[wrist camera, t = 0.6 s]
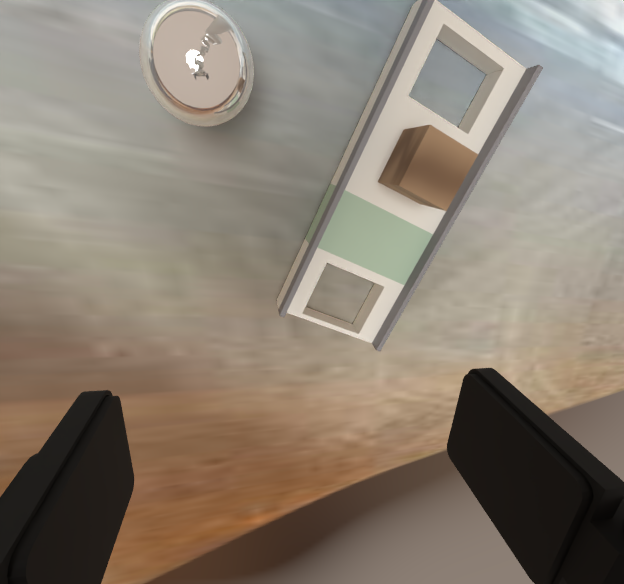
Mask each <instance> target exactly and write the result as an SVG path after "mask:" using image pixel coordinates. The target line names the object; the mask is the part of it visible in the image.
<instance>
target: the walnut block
mask: <svg viewBox="0 0 624 584" xmlns="http://www.w3.org/2000/svg"><path fill="white" fill-rule="evenodd" d="M477 156H478V154H477V153H475V152H474V151H472V150H470V149H469V148H467V147H465V146H464V145H462V144H461V143H459V142H457V141H456V140H454V139H453V138H451V137H449V136H448V135H446V134H445V133H443V132H441V131H440V130H438V129H437V128H435V127H433V126H432V125H425V126H420V127H414V128H409V129H404V130H403V132H402V134H401V136H400V138H399V140H398V142H397V144H396V146H395V148H394V150H393V152H392V154H391V156H390V158H389V160H388V162H387V164H386V166H385V168H384V170H383V172H382V174H381V176H380V178H379V180H378V182H379V183H381V184H383V185H385V186H387V187H388V188H390V189H392V190H394V191H396V192H398V193H400V194H402V195H404V196H405V197H407V198H409V199H411V200H413V201H415V202H417V203H419V204H421V205H425V206H429V207H433V208H437V209H440V210H444V211H447V209H448V207H449V206H450V204H451V202H452V200H453V198H454V197H455V195H456V193H457V191H458V190H459V188H460V186H461V184H462V182H463V181H464V179H465V177H466V175H467V174H468V172H469V170H470V168H471V166H472V165H473V163H474V161H475V159H476V158H477Z"/></svg>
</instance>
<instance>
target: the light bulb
mask: <svg viewBox="0 0 624 584" xmlns="http://www.w3.org/2000/svg"><path fill="white" fill-rule="evenodd" d="M139 57H140V66H141V69H142V73H143V76H144V79H145V81H146V83H147V85H148V87H149V89H150V91H151V92H152V94H153V95H154V97H155V98H156V100H157V101H158V102H159V103H160V104H161V105H162V106H163V107H164V108H165V109H166V110H167V111H168V112H169V113H170V114H172V115H173V116H174V117H176V118H177V119H180V120H182V121H184V122H186V123H188V124H192V125H196V126H205V127H209V126H216V125H220V124H223V123H225V122H228V121H229V120H231V119H232V118H234V117H235V116H236V115H237V114H238V113H239V112H240V111H241V110H242V109H243V107H244V106H245V104H246V103H247V101H248V99H249V96H250V94H251V91H252V86H253V81H254V65H253V59H252V54H251V51H250V48H249V45H248V42H247V39H246V38H245V36H244V34H243V32H242V30H241V28H240V27H239V26H238V24H237V23H236V22H235V21H234V19H233V18H232V17H231V16H230V15H229V14H228V13H226V12H225V11H224V10H223V9H222V8H220V7H219V6H217V5H215V4H214V3H212V2H210V1H207V0H166V1H164V2H163V3H161V4H160V5H158V6H157V7H156V8H155V9H154V10H153V11H152V12H151V14H150V15H149V16H148V18H147V20H146V22H145V24H144V26H143V29H142V33H141V36H140V45H139Z"/></svg>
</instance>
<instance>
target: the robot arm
mask: <svg viewBox="0 0 624 584" xmlns="http://www.w3.org/2000/svg"><path fill="white" fill-rule="evenodd" d="M447 451H448V455H449V457H450V459H451V461H452V462H453V463H454V465H455V467H456V468H457V470H458V471H459V473H460V474H461V476H462V477H463V479H464V480H465V482H466V483H467V485H468V486H469V488H470V489H471V491H472V492H473V494H474V495H475V497H476V498H477V500H478V501H479V503H480V504H481V506H482V507H483V509H484V510H485V512H486V513H487V515H488V516H489V518H490V519H491V521H492V522H493V523H494V525H495V527H496V528H497V530H498V531H499V533H500V534H501V536H502V537H503V539H504V540H505V542H506V543H507V545H508V546H509V548H510V549H511V551H512V552H513V554H514V555H515V557H516V558H517V559H518V561H519V563H520V564H521V566H522V567H523V569H524V570H525V572H526V573H527V575H528V576H529V578H530V579H531V580H532V581H533V582H534V583H535V584H624V482H623V481H622V480H621V479H620V478H619V477H617V476H616V475H615V474H614V473H613V472H612V471H611V470H609V469H608V468H607V467H606V466H605V465H604V464H603V463H601V462H600V461H599V460H598V459H597V458H596V457H594V456H593V455H592V454H591V453H590V452H589V451H588V450H586V449H585V448H584V447H583V446H582V445H581V444H580V443H578V442H577V441H576V440H575V439H574V438H573V437H572V436H570V435H569V434H568V433H567V432H566V431H564V430H563V429H562V428H561V427H560V426H559V425H558V424H556V423H555V422H554V421H553V420H552V419H551V418H550V417H549V416H547V415H546V414H545V413H544V412H543V411H542V410H541V409H539V408H538V407H537V406H536V405H535V404H534V403H532V402H531V401H530V400H529V399H528V398H527V397H526V396H524V395H523V394H522V393H521V392H520V391H519V390H518V389H516V388H515V387H514V386H513V385H512V384H511V383H510V382H508V381H507V380H506V379H505V378H504V377H503V376H501V375H500V374H499V373H498V372H497V371H496V370H494V369H493V368H481V369H472V370H470V371H469V373H468V374H467V375H465V376H464V379H463V383H462V387H461V391H460V395H459V399H458V403H457V407H456V411H455V415H454V419H453V423H452V427H451V431H450V435H449V439H448V443H447ZM133 487H134V473H133V468H132V462H131V457H130V451H129V446H128V440H127V435H126V429H125V424H124V418H123V412H122V407H121V401H120V398H119V396H112V393H111V392H110V391H109V390H105V391H88V392H82V393H81V394H80V395H79V396H78V398H77V399H76V400H75V402H74V403H73V405H72V406H71V407H70V409H69V410H68V412H67V413H66V415H65V416H64V417H63V419H62V420H61V422H60V423H59V424H58V426H57V427H56V429H55V430H54V432H53V433H52V434H51V436H50V437H49V439H48V440H47V442H46V443H45V444H44V446H43V447H42V449H41V450H40V451H39V453H37V454H35V455H33V456H31V457H30V458H29V459H28V461H27V462H26V463H25V464H24V465H23V467H22V468H21V470H20V471H19V472H18V474H17V475H16V476H15V478H14V479H13V481H12V482H11V483H10V485H9V486H8V487H7V489H6V490H5V492H4V493H3V494H2V496H1V497H0V584H101V582H102V579H103V576H104V573H105V570H106V567H107V564H108V561H109V559H110V556H111V553H112V550H113V547H114V544H115V541H116V538H117V535H118V532H119V530H120V527H121V524H122V521H123V518H124V515H125V512H126V509H127V506H128V503H129V501H130V498H131V495H132V491H133Z"/></svg>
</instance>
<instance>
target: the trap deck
mask: <svg viewBox="0 0 624 584" xmlns="http://www.w3.org/2000/svg"><path fill="white" fill-rule="evenodd" d="M436 38H437V39H438V40H439V41H441V42H442V43H443V44H445V45H446V46H448V47H449V48H450V49H452V50H453V51H455V52H456V53H457V54H459V55H460V56H461V57H463V58H464V59H466V60H467V61H468V62H470V63H471V64H473V65H474V66H475V67H477V68H478V69H479V70H481V71H482V72H484V73H485V74H486V76H485V78H484V80H483V82H482V84H481V86H480V88H479V90H478V91H477V93H476V95H475V97H474V99H473V101H472V103H471V104H470V106H469V108H468V110H467V112H466V114H465V116H464V117H463V119H462V121H461V123H460V125H459V127H456V126H455V125H453V124H451V123H450V122H448V121H447V120H445V119H444V118H442V117H440V116H439V115H437V114H436V113H434V112H433V111H431V110H429V109H428V108H426V107H425V106H423V105H422V104H420V103H419V102H417V101H415V100H414V99H412V98H411V97H409V94H410V91H411V89H412V87H413V85H414V83H415V81H416V79H417V77H418V75H419V73H420V71H421V69H422V67H423V65H424V63H425V61H426V59H427V57H428V55H429V53H430V51H431V48H432V46H433V44H434V42H435V40H436ZM542 69H543V67H541V66H540V65H537V66H534V67H531V68H527V69H526V68H525V67H523V66H522V65H521V64H519V63H518V62H517V61H515V60H514V59H513V58H512V57H510V56H509V55H508V54H506V53H505V52H504V51H502V50H501V49H500V48H498V47H497V46H496V45H495V44H493V43H492V42H491V41H489V40H488V39H487V38H485V37H484V36H483V35H481V34H480V33H479V32H478V31H476V30H475V29H474V28H472V27H471V26H470V25H468V24H467V23H466V22H464V21H463V20H462V19H461V18H459V17H458V16H457V15H455V14H454V13H453V12H451V11H450V10H449V9H447V8H446V7H445V6H444V5H442V4H441V3H440V2H438V1H437V0H417V1H416V2H415V3H414V4H413V5H412V7H411V10H410V12H409V14H408V16H407V18H406V20H405V23H404V25H403V27H402V29H401V31H400V34H399V36H398V38H397V40H396V42H395V44H394V47H393V49H392V51H391V53H390V55H389V57H388V60H387V62H386V64H385V66H384V68H383V70H382V73H381V75H380V77H379V79H378V81H377V83H376V86H375V88H374V90H373V92H372V94H371V96H370V99H369V101H368V103H367V105H366V107H365V109H364V112H363V114H362V116H361V118H360V120H359V122H358V125H357V127H356V129H355V131H354V133H353V136H352V138H351V140H350V142H349V144H348V146H347V149H346V151H345V153H344V155H343V157H342V159H341V162H340V164H339V166H338V168H337V170H336V172H335V175H334V177H333V179H332V181H331V183H330V185H329V188H328V190H327V192H326V194H325V196H324V198H323V201H322V203H321V205H320V207H319V209H318V211H317V214H316V216H315V218H314V220H313V222H312V224H311V227H310V229H309V231H308V233H307V235H306V238H305V240H304V242H303V244H302V246H301V248H300V251H299V253H298V255H297V257H296V259H295V261H294V264H293V266H292V268H291V270H290V272H289V274H288V277H287V279H286V281H285V283H284V285H283V287H282V290H281V292H280V294H279V296H278V298H277V300H276V301H277V306H278V310H279V315H280V316H282V317H285V315H286V313H289V314H292V315H295V316H297V317H300V318H303V319H306V320H308V321H311V322H314V323H317V324H320V325H322V326H325V327H328V328H331V329H333V330H336V331H339V332H342V333H345V334H347V335H350V336H353V337H356V338H359V339H361V340H364V341H367V342H370V343H372V344H373V346H374V347H375V349H376V350H378V351H381V349H382V347H383V345H384V344H385V342H386V340H387V339H388V337H389V335H390V333H391V332H392V330H393V328H394V326H395V325H396V323H397V321H398V319H399V318H400V316H401V314H402V312H403V311H404V309H405V307H406V305H407V304H408V302H409V300H410V299H411V297H412V295H413V293H414V292H415V290H416V288H417V286H418V285H419V283H420V281H421V279H422V278H423V276H424V274H425V272H426V271H427V269H428V267H429V265H430V264H431V262H432V260H433V259H434V257H435V255H436V253H437V252H438V250H439V248H440V246H441V245H442V243H443V241H444V239H445V238H446V236H447V234H448V232H449V231H450V229H451V227H452V225H453V224H454V222H455V220H456V219H457V217H458V215H459V213H460V212H461V210H462V208H463V206H464V205H465V203H466V201H467V199H468V198H469V196H470V194H471V192H472V191H473V189H474V187H475V185H476V184H477V182H478V180H479V178H480V177H481V175H482V173H483V172H484V170H485V168H486V166H487V165H488V163H489V161H490V159H491V158H492V156H493V154H494V152H495V151H496V149H497V147H498V145H499V144H500V142H501V140H502V138H503V137H504V135H505V133H506V132H507V130H508V128H509V126H510V125H511V123H512V121H513V119H514V118H515V116H516V114H517V112H518V111H519V109H520V107H521V105H522V104H523V102H524V100H525V98H526V97H527V95H528V93H529V92H530V90H531V88H532V86H533V85H534V83H535V81H536V79H537V78H538V76H539V74H540V72H541V71H542ZM425 125H432V126H433V127H435V128H437V129H438V130H440V131H441V132H443V133H445V134H446V135H448V136H449V137H451V138H453V139H454V140H456V141H457V142H459V143H461V144H462V145H464V146H465V147H467V148H469V149H470V150H472V151H474V152H475V153H477V154H478V156H477V158H476V159H475V161H474V163H473V165H472V166H471V168H470V170H469V172H468V174H467V175H466V177H465V179H464V181H463V182H462V184H461V186H460V188H459V190H458V191H457V193H456V195H455V197H454V198H453V200H452V202H451V204H450V206H449V207H448V209H447V211H444V210H440V209H437V208H433V207H429V206H425V205H421V204H419V203H417V202H415V201H413V200H411V199H409V198H407V197H405V196H404V195H402V194H400V193H398V192H396V191H394V190H392V189H390V188H388V187H387V186H385V185H383V184H381V183H379V182H378V180H379V178H380V176H381V174H382V172H383V170H384V168H385V166H386V164H387V162H388V160H389V158H390V156H391V154H392V152H393V150H394V148H395V146H396V144H397V142H398V140H399V138H400V136H401V134H402V132H403V130H404V129H409V128H414V127H420V126H425ZM327 263H329V264H332V265H334V266H336V267H339V268H341V269H343V270H346V271H348V272H351V273H353V274H355V275H358V276H360V277H362V278H365V279H367V280H369V281H372V282H374V285H373V287H372V289H371V291H370V292H369V294H368V296H367V298H366V300H365V302H364V304H363V306H362V307H361V309H360V311H359V313H358V315H357V317H356V319H355V320H354V322H353V324H351V323H348V322H345V321H343V320H340V319H337V318H335V317H332V316H329V315H326V314H324V313H321V312H318V311H316V310H313V309H310V308H308V307H306V305H307V302H308V300H309V298H310V296H311V294H312V292H313V290H314V288H315V286H316V284H317V282H318V280H319V278H320V276H321V274H322V272H323V270H324V268H325V266H326V264H327Z"/></svg>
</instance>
